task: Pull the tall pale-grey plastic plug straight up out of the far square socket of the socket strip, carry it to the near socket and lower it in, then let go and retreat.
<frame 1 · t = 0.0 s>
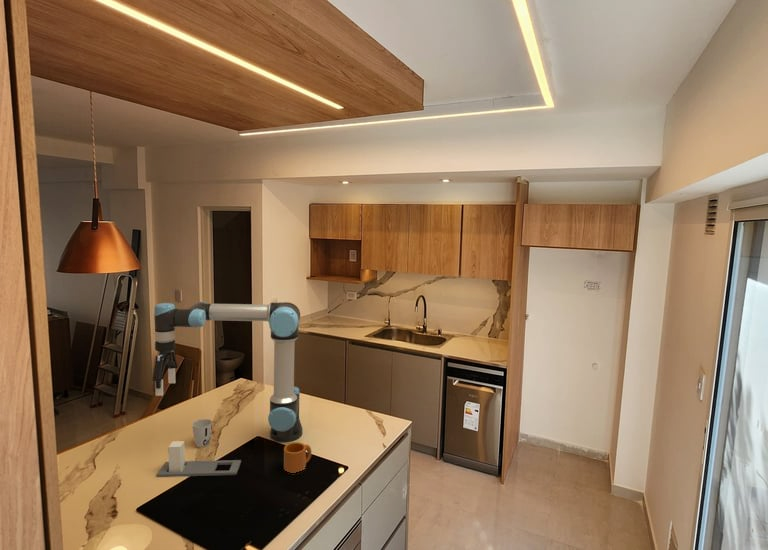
hand: (165, 389, 182), 28 cm above the worktop, fingers open, 13 cm apart
cup: (202, 444, 192), on the worktop
socket strip: (200, 469, 173), on the worktop
plug: (176, 469, 172), resting in socket strip
mug: (298, 467, 177), on the worktop
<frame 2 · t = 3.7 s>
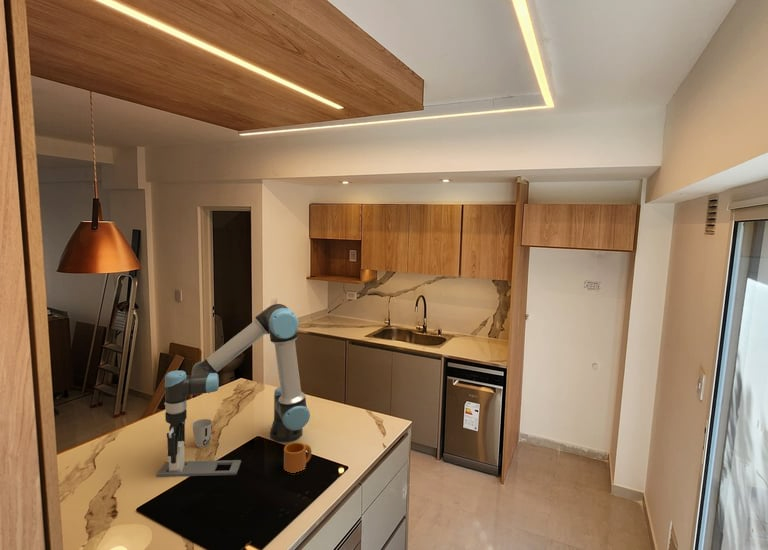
hand: (176, 465, 172), 2 cm above the worktop, fingers closed on plug, 4 cm apart
plug: (176, 469, 172), resting in socket strip, touching gripper
everything else where it was.
when the fingers open (2 cm above the worktop, at t = 9.5 s): plug stays where it is, resting in socket strip.
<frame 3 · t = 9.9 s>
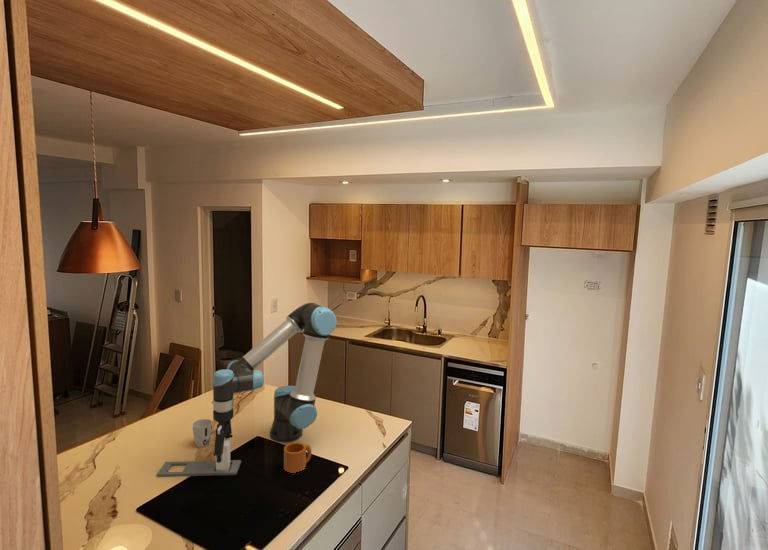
hand: (223, 460, 173), 3 cm above the worktop, fingers open, 10 cm apart
plug: (223, 468, 174), resting in socket strip
everything else where it was.
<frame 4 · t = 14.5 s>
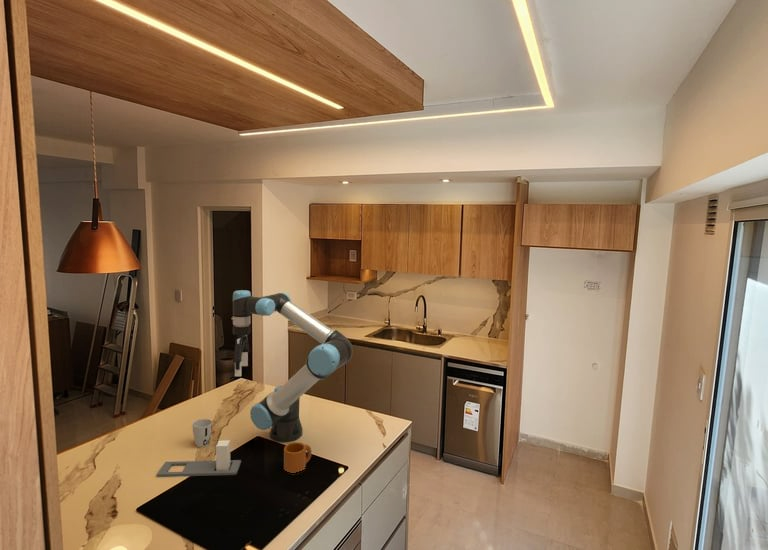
hand: (241, 370, 194), 33 cm above the worktop, fingers open, 13 cm apart
nothing on the worktop moved.
at the end: plug 0.0 cm from the target spot on the socket strip, point 0.0 cm above the socket strip's base; plug tilted 0°; the gripper is holding nothing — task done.
